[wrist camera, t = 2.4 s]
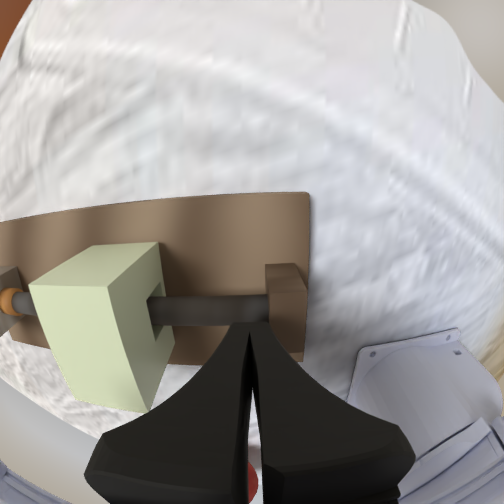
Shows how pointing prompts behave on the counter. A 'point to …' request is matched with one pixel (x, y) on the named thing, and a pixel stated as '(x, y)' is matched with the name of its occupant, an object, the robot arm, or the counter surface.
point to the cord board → (178, 264)
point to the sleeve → (106, 324)
